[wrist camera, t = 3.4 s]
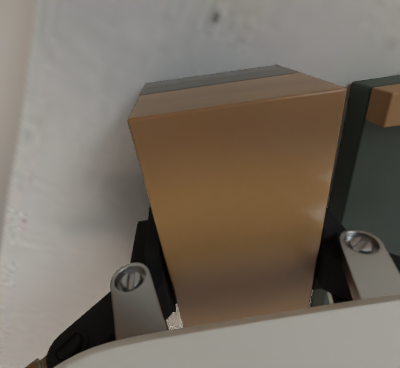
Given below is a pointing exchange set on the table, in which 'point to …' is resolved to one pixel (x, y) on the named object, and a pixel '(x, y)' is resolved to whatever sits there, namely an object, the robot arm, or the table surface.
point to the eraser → (238, 185)
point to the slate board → (369, 165)
